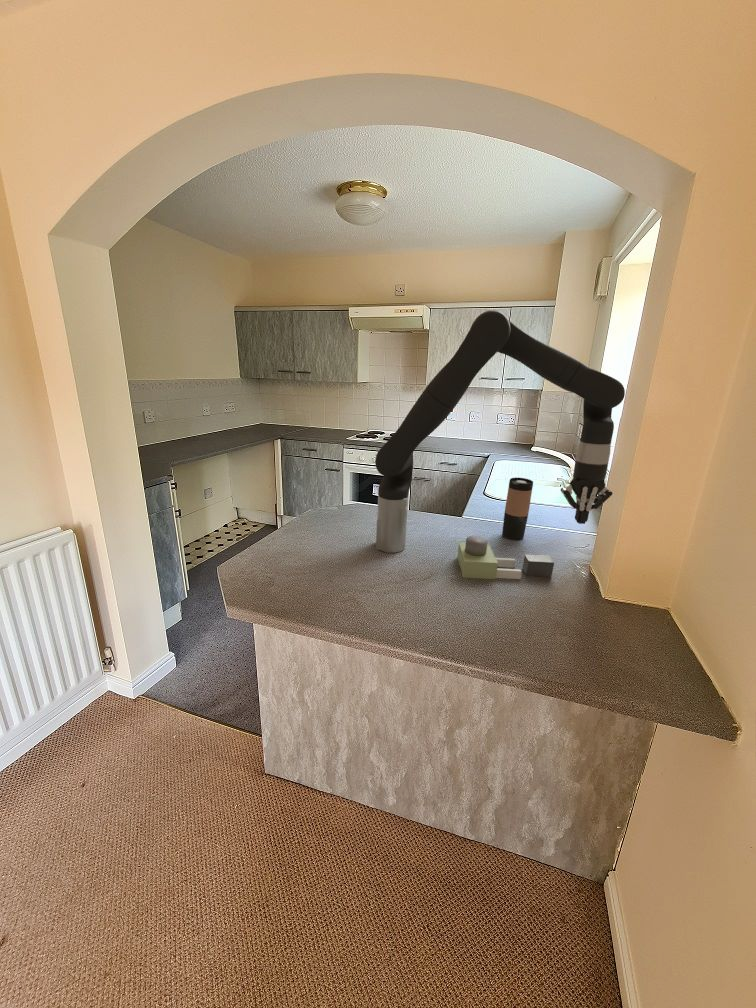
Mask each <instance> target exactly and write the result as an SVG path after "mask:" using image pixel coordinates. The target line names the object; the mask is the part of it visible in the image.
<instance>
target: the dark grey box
mask: <svg viewBox="0 0 756 1008" xmlns="http://www.w3.org/2000/svg"><path fill="white" fill-rule="evenodd" d="M554 567H555V561H554V560H553V559H552V558H551V556H550V555H540V554H538V555H536V554H524V557H523V563H522V567H521V571H522V572H523V574H524V576H525V577H526V578H543V579H545V578H546V579H551V578H552V576H553V573H554Z"/></svg>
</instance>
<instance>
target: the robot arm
mask: <svg viewBox="0 0 756 1008" xmlns="http://www.w3.org/2000/svg"><path fill="white" fill-rule="evenodd" d="M461 342H462V343H461V344H460V345H459V347H458V349H457V350H456V352H455V353H454V355H453V356H452V357H451V359H450V360H448V362H447V363H446V364H445V365H444V366H443V367H442V368H441V369H440V370H439V371H438V372H437V373H436V375H435V376H434V377H433V378H432V380H430V382H429V383H428V384H427V386H426V387H425V389H424V390H423V391H422V393H421V394H420V396H419V397H418V399H416V401H415V403H414V404H413V405H412V407H411V408H410V410H409V412H408V413H407V415H406V417H405V418H404V420H403V421H402V423H401V424H400V425H399V427H398V428H397V430H396V431H395V432H394V434H392V436H391V437H389V438H388V440H387V441H386V442H385V443H384V444H383V445H382V447H380V448H379V450H378V451H377V454H376V456H375V460H374V464H375V468H376V470H377V472H378V473H379V474H380V475H382V479H381V482H380V484H379V485H378V490H377V495H378V496H377V517H376V518H377V519H376V530H375V531H376V534H375V537H376V538H375V550H377V551H380V552H385V553H399V552H400V553H401V552H403V551H404V550H405V549H406V542H407V525H408V510H409V509H408V507H409V506H408V505H409V492H410V489H411V485H412V483H413V482H412V481H413V470H414V455H413V453H414V451H415V450H416V449H417V448H418V446H420V444H421V443H422V442H423V441H424V440H425V439H426V438H427V437H428V436H430V435H431V434H432V433H433V432H434V431H435V430H437V428H438V427H440V425H441V424H442V423H443V422H445V420H446V419H447V418H448V416H450V415H451V413H452V412H453V410H454V409H455V407H456V406H457V405H458V403H459V402H460V400H462V398H463V397H464V394H465V393H466V392H467V390H468V388H469V387H470V385H471V384H472V382H473V381H474V378H475V377H476V376H477V375H478V373H479V372H480V371H481V370H482V369H483V367H485V366H486V365H487V363H488V362H489V361H490V360H491V359H492V358H493V357H494V356H495V355H496V354H497V353H499V354H502V355H505V356H508V357H509V358H512V359H513V360H515V361H517V362H519V363H521V364H522V365H524V366H525V367H526V368H528V369H530V370H532V371H533V373H535V374H536V375H538V376H539V377H542V378H543V379H544V380H546V381H548V382H550V383H551V384H554V385H555V386H556V387H559V388H560V389H563V390H564V391H567V392H569V393H573V394H575V395H576V396H579V397H580V398H581V399H583V408H582V409H583V410H582V412H583V413H582V415H583V417H582V419H583V422H582V427H581V432H580V438H579V439H580V440H579V443H578V447H577V450H576V455H575V461H574V467H573V474H572V479H571V481H570V482H569V485H568V486H566V487H561V488H560V492H561V494H562V495H563V497H564V498H565V499H566V502H567V503H568V504H569V506H571V508H573V509H575V515H574V519H575V522H576V523H577V524H579V525H581V524H582V525H585V524H586V523H587V522H588V519H589V514H590V511H591V510H597V509H599V507H601V506H602V505H603V504H604V503H605V502H606V501H607V500H608V499H609V498H610V497H612V495H613V491H611V490H610V489H608V488H607V487H606V482H605V479H606V477H607V472H608V466H609V461H610V456H611V447H612V446H611V445H612V439H613V434H614V428H615V423H614V421H613V419H612V414H613V413H612V412H613V408H616V407H618V406H619V405H620V404H621V403H622V402H623V400H624V399H625V396H626V393H625V392H626V390H625V387H624V385H623V384H622V383H621V382H620V380H618V379H616V378H614V377H612V376H610V375H609V374H605V373H603V372H601V371H599V370H597V369H594V368H592V367H590V366H588V365H586V364H585V363H583V362H581V360H578V359H577V358H575V357H573V356H571V355H569V354H567V353H565V352H563V351H561V350H560V349H557V348H555V347H552V346H550V345H549V344H546V343H545V342H543V341H541V340H539V339H536V338H535V337H533V336H531V335H529V334H528V333H526V332H525V331H523V330H521V328H520V327H518V326H516V325H515V324H514V323H513V322H512V321H511V320H510V319H508V317H507V316H506V314H504V313H503V312H502V311H499V310H496V309H492V310H486V311H483V312H482V313H480V314H479V315H478V316H477V317H476V318H475V319H474V321H473V322H472V324H471V327H470V328H469V330H468V332H467V334H466V335H465V338H464V339H463V341H461ZM573 493H574V495H575V499H574V498H573V496H572V494H573Z"/></svg>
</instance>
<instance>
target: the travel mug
mask: <svg viewBox="0 0 756 1008" xmlns="http://www.w3.org/2000/svg"><path fill="white" fill-rule="evenodd" d="M533 487H534V481H533V480H531V479H529V478H526V477H511V478H509V481H508V488H507V495H506V501H505V505H504V506H505V507H504V512H503V513H504V516H503V522H502V532H501V533H502V537H503V538H505V539H508V540H513V541H520V540H523V539H524V537H525V532H526V528H527V522H528V518H529V512H530V505H531V499H532V494H533Z"/></svg>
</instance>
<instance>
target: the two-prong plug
mask: <svg viewBox="0 0 756 1008" xmlns="http://www.w3.org/2000/svg"><path fill="white" fill-rule="evenodd" d="M456 558H457V561H458V565H459V568H460V572H461V575H462V578H467V579H469V578H471V579H472V578H473V579H484V580H485V579H486V580H488V579H489V580H496V579H509V580H521V578H522V572H523V571H522V569H519V568H518V569H517V568H515V566H516V561H517V560H516V559H515V558H507V557H496V556H495V553H494V551H493V550H492V547H491V545H490V544H489V542H488V539H486V538H484V537H482V536H478V535H472V536H467V537H466V538H465V542H458V549H457V557H456Z"/></svg>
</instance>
